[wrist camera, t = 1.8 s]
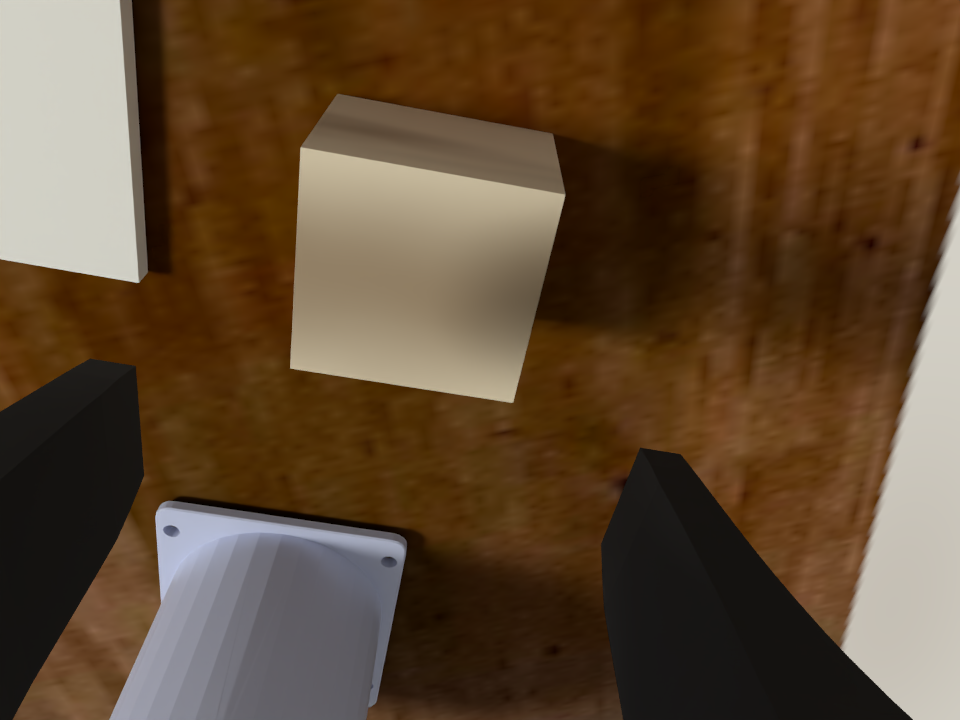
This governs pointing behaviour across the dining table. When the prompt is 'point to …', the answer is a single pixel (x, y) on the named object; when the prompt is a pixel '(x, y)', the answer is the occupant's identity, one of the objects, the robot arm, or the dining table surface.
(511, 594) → the dining table surface
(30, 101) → the mat
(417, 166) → the ash brick
